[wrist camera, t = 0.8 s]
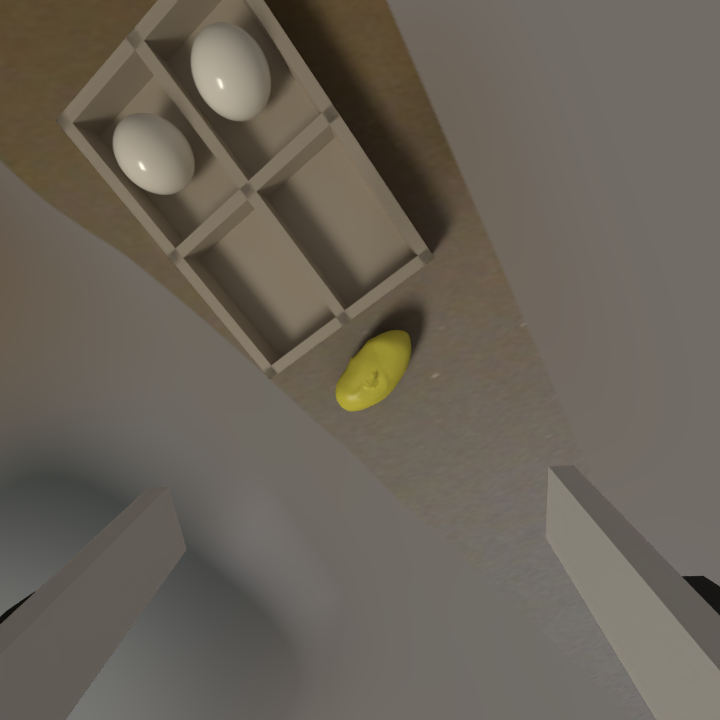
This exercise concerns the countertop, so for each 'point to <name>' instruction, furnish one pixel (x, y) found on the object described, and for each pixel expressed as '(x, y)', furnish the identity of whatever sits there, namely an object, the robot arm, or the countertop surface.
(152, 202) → the divided tray
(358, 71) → the countertop surface
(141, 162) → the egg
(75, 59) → the countertop surface
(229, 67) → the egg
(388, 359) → the yellow oval piece
